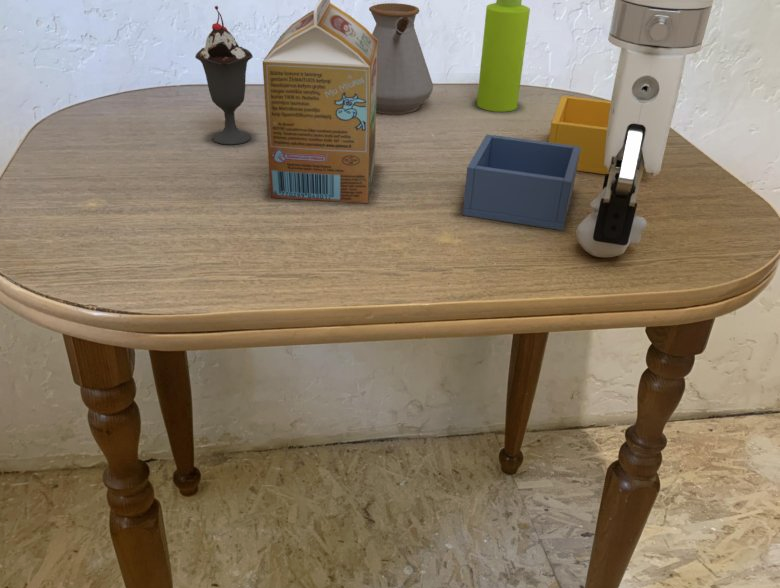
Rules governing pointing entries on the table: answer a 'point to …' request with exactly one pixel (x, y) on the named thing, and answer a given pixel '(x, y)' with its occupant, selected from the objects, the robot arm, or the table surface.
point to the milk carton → (322, 108)
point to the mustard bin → (583, 130)
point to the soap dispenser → (502, 55)
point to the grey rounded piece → (601, 248)
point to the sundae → (225, 79)
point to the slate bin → (521, 181)
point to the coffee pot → (399, 60)
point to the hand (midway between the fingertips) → (612, 226)
